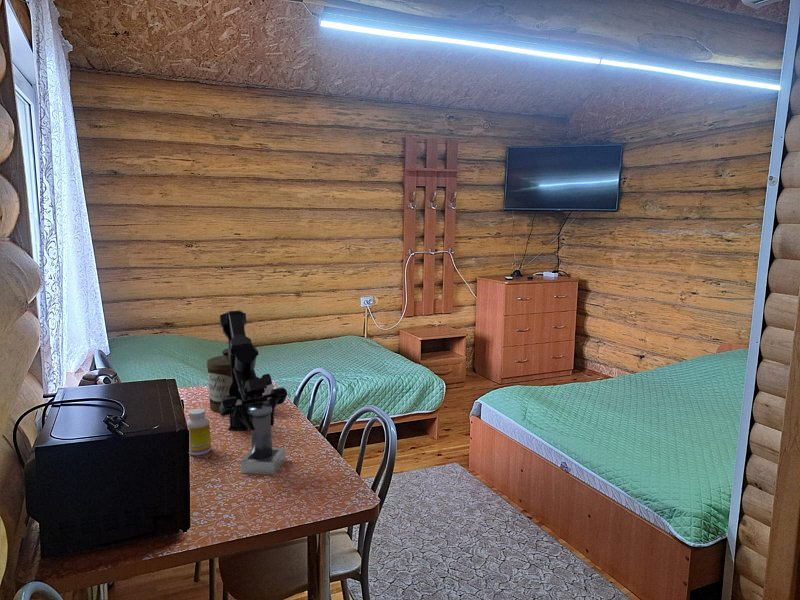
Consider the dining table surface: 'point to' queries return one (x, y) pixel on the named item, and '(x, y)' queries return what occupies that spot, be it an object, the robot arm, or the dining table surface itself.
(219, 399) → the wooden container
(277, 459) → the gray square frame
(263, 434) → the dark grey metal cylinder
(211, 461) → the dining table surface
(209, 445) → the supplement bottle
